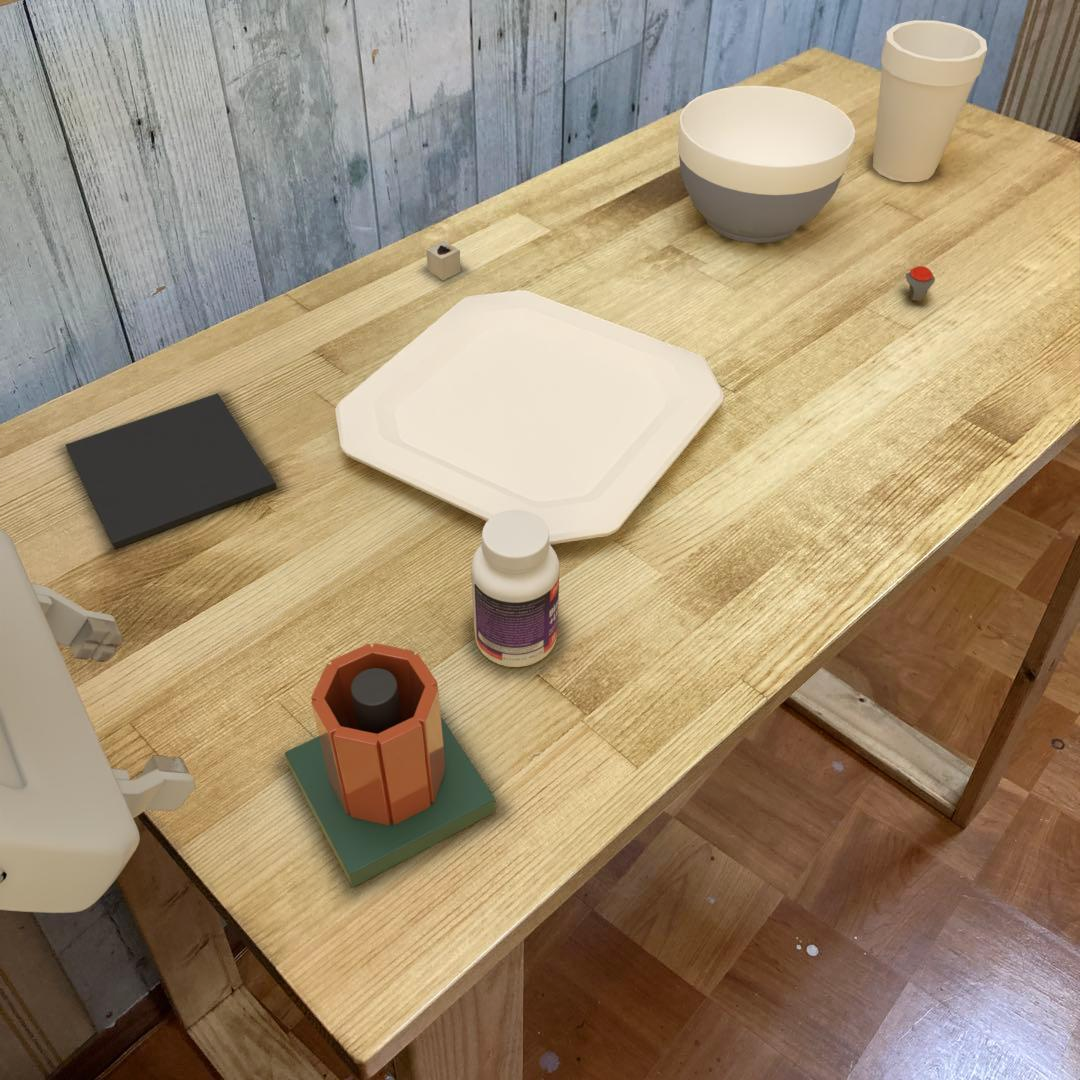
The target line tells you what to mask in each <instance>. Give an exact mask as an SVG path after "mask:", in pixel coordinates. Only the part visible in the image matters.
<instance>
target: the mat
mask: <svg viewBox="0 0 1080 1080" xmlns="http://www.w3.org/2000/svg"><path fill="white" fill-rule="evenodd" d="M65 448H66V450H67V453H68V455H69V456H70V459H71V461H72V463H73V465H74V467H75V470H76V471H77V474H78V475H79V477H80V480H81V482H82V484H83V486H84V488H85V490H86V492H87V494H88V496H89V499H90V501H91V503H92V505H93V507H94V509H95V511H96V513H97V515H98V517H99V519H100V522H101V523H102V526H103V527H104V530H105V532H106V535H107V536H108V538H109V540H110V542H111V544H112V546H113V548H114V549H115V550H116V549H119V548H121V547H124V546H127V545H130V544H133V543H135V542H138V541H140V540H143V539H145V538H148V537H152V536H153V535H156V534H159V533H163V532H164V531H167V530H170V529H172V528H175V527H177V526H180V525H183V524H186V523H188V522H190V521H193V520H195V519H199V518H202V517H204V516H207V515H209V514H212V513H215V512H217V511H220V510H222V509H225V508H229V507H231V506H233V505H236V504H238V503H241V502H243V501H246V500H249V499H252V498H255V497H257V496H260V495H262V494H265V493H268V492H270V491H273V490H276V489H277V484H276V482H275V480H274V478H273V476H272V475H271V474H270V472H269V470H268V469H267V467H266V465H265V464H264V463H263V461H262V459H261V458H260V456H259V455H258V453H257V451H256V450H255V448H254V447H253V446H252V444H251V443H250V441H249V439H248V438H247V437H246V435H245V434H244V432H243V430H242V429H241V427H240V426H239V424H238V423H237V421H236V420H235V418H234V416H233V415H232V413H231V411H230V410H229V408H228V407H227V405H226V404H225V402H224V400H223V399H222V397H221V396H220V395H219V393H213V394H211V395H208V396H205V397H202V398H200V399H196V400H193V401H190V402H187V403H184V404H181V405H178V406H176V407H173V408H169V409H167V410H164V411H160V412H157V413H155V414H154V413H153V414H151V415H149V416H145V417H142V418H140V419H136V420H134V421H131V422H128V423H124V424H121V425H119V426H116V427H113V428H110V429H107V430H104V431H101V432H98V433H95V434H92V435H90V436H89V435H88V436H86V437H84V438H81V439H77V440H74V441H72V442H68V443H66V444H65Z"/></svg>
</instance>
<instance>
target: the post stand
mask: <svg viewBox="0 0 1080 1080" xmlns="http://www.w3.org/2000/svg"><path fill="white" fill-rule="evenodd" d="M351 695H352V700H353V705H354V711H355V716H356V721H357V727H358V730H361V731H366V732H370V733H375V734H378V733H381V732H383V731H385V730H387V729H389V728H391V727H393V726H395V725H397V724H399V723H402V715H401V708H400V700H399V693H398V686H397V681H396V678H395V677H394V676H393V675H392V674H391V673H390V672H389V671H387V670H384V669H380V668H372V669H368V670H365V671H363V672H361V673H360V674H358V675H357V676H356V677H355V679H354V680H353V682H352V684H351ZM441 726H442V736H443V747H444V758H445V769H446V770H445V773H444V776H443V779H442V782H441V784H440V787H439V790H438V793H437V796H436V799H435V802H434V803H431V802H430V804H431V807H429V808H427V809H425V810H423V811H421V812H419V813H417V814H416V815H414V816H412V817H410V818H408V819H406V820H404V821H402V822H400V823H398V824H396V825H394V824H393V823H392V821H391V823H390V825H389V826H388V825H384V824H379V823H375V822H370V821H366V820H362V819H357V818H353V817H351V816H350V813H349V814H346V812H345V810H344V808H343V807H342V805H341V803H340V801H339V799H338V798H337V796H336V794H335V792H334V790H333V788H332V787H331V785H330V781H329V777H328V772H327V768H326V764H325V759H324V755H323V751H322V747H321V742H320V738H319V735H318V736H316V737H314V738H312V739H310V740H308V741H305V742H303V743H301V744H299V745H297V746H295V747H293V748H290V749H289V750H286V751H284V757H285V759H286V763H287V767H288V769H289V771H290V773H291V774H292V777H293V778H294V781H295V782H296V784H297V786H298V788H299V790H300V792H301V794H302V795H303V797H304V799H305V801H306V803H307V805H308V807H309V809H310V810H311V813H312V814H313V817H314V818H315V820H316V822H317V823H318V826H319V827H320V829H321V831H322V833H323V835H324V836H325V839H326V841H327V843H328V845H329V846H330V848H331V851H332V852H333V854H334V856H335V858H336V860H337V861H338V863H339V865H340V867H341V869H342V871H343V873H344V875H345V877H346V878H347V879H346V880H348V882H349V885H350V886H351V888H355V887H356V886H358V885H360V884H362V883H364V882H366V881H368V880H370V879H371V878H373V877H375V876H377V875H379V874H381V873H384V872H385V871H387V870H389V869H390V868H392V867H395V866H396V865H398V864H400V863H401V862H404V861H406V860H407V859H409V858H412V857H413V856H416V855H417V854H419V853H421V852H422V851H425V850H427V849H429V848H430V847H432V846H434V845H436V844H438V843H440V842H442V841H443V840H446V839H448V838H449V837H451V836H453V835H455V834H456V833H459V832H461V831H463V830H464V829H466V828H468V827H470V826H472V825H474V824H476V823H478V822H479V821H481V820H484V819H485V818H487V817H489V816H491V815H492V814H495V813H496V798H495V796H494V794H493V793H492V791H491V790H490V789H489V787H488V786H487V784H486V782H485V780H484V779H483V777H482V776H481V775H480V773H479V772H478V770H477V768H476V767H475V766H474V764H473V762H472V761H471V759H470V758H469V757H468V755H467V753H466V752H465V750H464V748H463V747H462V746H461V744H460V743H459V741H458V740H457V738H456V737H455V735H454V734H453V732H452V731H451V729H450V728H449V726H448V725H447V723H446V721H445V720H444V718H443V717H442V716H441Z"/></svg>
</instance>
